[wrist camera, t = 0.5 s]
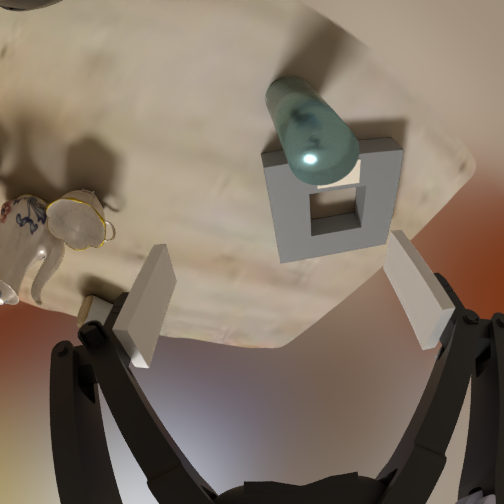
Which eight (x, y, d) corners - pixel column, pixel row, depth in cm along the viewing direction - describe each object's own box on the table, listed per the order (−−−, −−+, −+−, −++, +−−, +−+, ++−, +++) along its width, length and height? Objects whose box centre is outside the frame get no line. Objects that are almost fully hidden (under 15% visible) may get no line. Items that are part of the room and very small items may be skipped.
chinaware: (130, 168, 32) (88, 265, 20) (115, 261, 42) (94, 355, 30) (-30, 138, 22) (-100, 206, 10) (-19, 225, 32) (-62, 298, 20)
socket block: (260, 153, 30) (263, 168, 28) (392, 137, 29) (404, 150, 27) (277, 247, 42) (280, 264, 40) (378, 229, 41) (385, 244, 39)
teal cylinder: (261, 80, 24) (283, 127, 16) (311, 74, 24) (360, 118, 16) (269, 123, 28) (291, 190, 20) (315, 117, 27) (357, 180, 19)
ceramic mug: (92, 286, 46) (82, 323, 42) (128, 304, 51) (122, 340, 46) (76, 305, 52) (68, 338, 47) (108, 320, 56) (102, 351, 51)
